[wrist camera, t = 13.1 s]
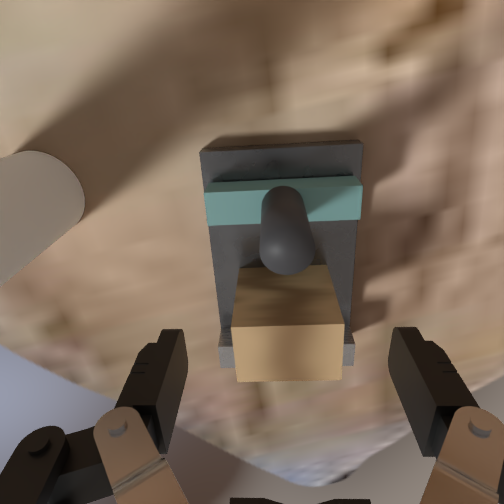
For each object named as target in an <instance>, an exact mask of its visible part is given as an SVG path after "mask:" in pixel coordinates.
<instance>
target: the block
mask: <svg viewBox="0 0 504 504" xmlns="http://www.w3.org/2000/svg"><path fill="white" fill-rule="evenodd" d="M344 326H345V324H344V320H343V317H342V314H341V310H340V307H339V303H338V300H337V297H336V293H335V290H334V287H333V283H332V280H331V277H330V273H329V270H328V267H327V265H309V266H308V267H307V268H306V269H305V270H303V271H301V272H299V273H296V274H292V275H281V274H277V273H275V272H273V271H271V270H269V269H268V268H267V267H259V268H239V273H238V280H237V287H236V294H235V301H234V308H233V315H232V322H231V333H232V342H233V350H234V359H235V367H236V375H237V382H263V381H312V380H341V378H342V361H343V344H344Z"/></svg>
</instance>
